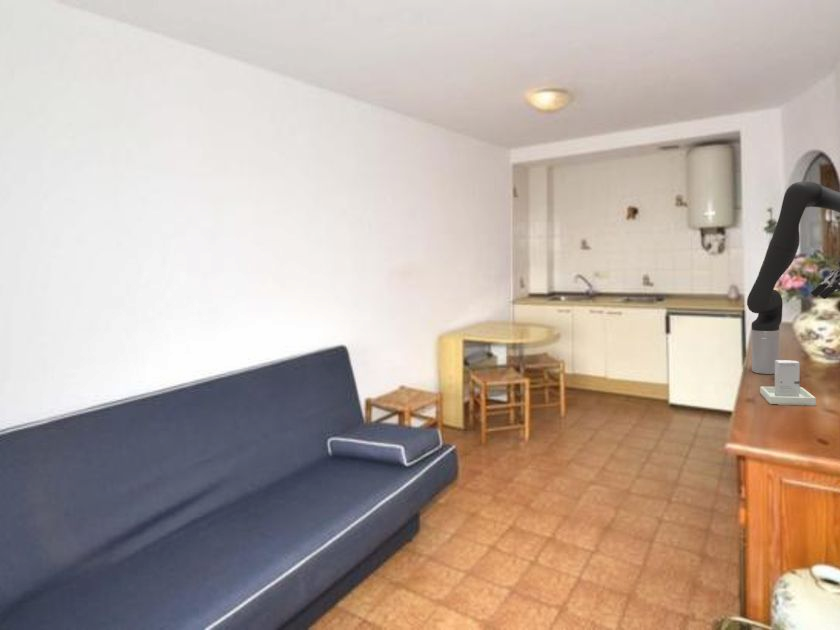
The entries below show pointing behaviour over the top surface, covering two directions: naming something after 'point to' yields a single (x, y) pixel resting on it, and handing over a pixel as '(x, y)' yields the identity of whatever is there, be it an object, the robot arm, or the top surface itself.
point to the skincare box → (787, 378)
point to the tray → (803, 398)
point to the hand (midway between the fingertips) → (817, 296)
